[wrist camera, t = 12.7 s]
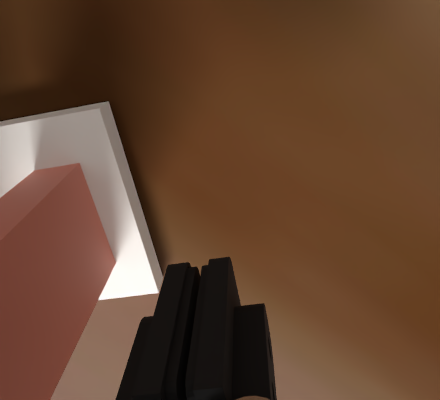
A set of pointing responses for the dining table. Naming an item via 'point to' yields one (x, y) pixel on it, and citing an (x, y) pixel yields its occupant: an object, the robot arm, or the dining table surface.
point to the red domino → (47, 277)
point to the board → (88, 183)
